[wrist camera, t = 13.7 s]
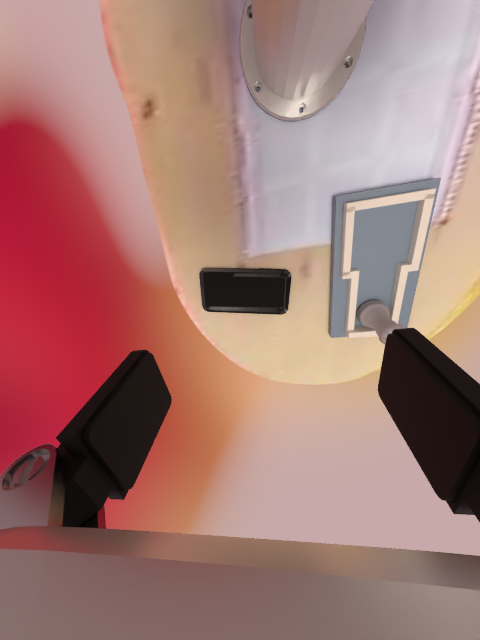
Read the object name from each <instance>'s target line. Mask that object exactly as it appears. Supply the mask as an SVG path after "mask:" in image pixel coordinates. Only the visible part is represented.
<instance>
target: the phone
mask: <svg viewBox="0 0 480 640" xmlns="http://www.w3.org/2000/svg"><path fill="white" fill-rule="evenodd" d="M290 285H291V274H290V272H289V271H288V270H285V269H263V268H259V269H241V268H204V269H203V270H202V271H201V272H200V286H201V296H202V306H203V308H204V310H206V311H208V312H230V313H256V314H285V313H286V312H287V310H288V304H289V294H290Z"/></svg>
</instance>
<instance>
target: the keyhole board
mask: <svg viewBox="0 0 480 640" xmlns="http://www.w3.org/2000/svg"><path fill="white" fill-rule="evenodd" d="M440 180H441V178H435V179H429V180H423V181H417V182H412V183H406V184H400V185H395V186H389V187H383V188H378V189H372V190H366V191H361V192H355V193H349V194H344V195H338V196H333V218H332V248H331V279H330V310H329V335H330V337H331V338H334V337H347V336H348V338H359V337H372V336H378V335H377V333H376V330H374V329H373V328H369V327H366V326H364V325H362V324H361V323H360V322H359V320H358V319H357V312H358V309H359V308H360V307H361V306H362V305H363V304H364V303H366V302H368V301H372V300H378V301H381V302H383V303H384V304H385V305H386V306H387V308H388V309H389V318H390V319H391V320H392V321H394V322H396V323H397V325H401V326H403V327H404V328H407V326H408V322H409V317H410V313H411V309H412V304H413V300H414V295H415V291H416V286H417V282H418V277H419V273H420V268H421V264H422V260H423V255H424V251H425V246H426V242H427V237H428V233H429V228H430V224H431V220H432V215H433V211H434V206H435V202H436V197H437V193H438V188H439V184H440Z"/></svg>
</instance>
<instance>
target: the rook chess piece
mask: <svg viewBox="0 0 480 640" xmlns="http://www.w3.org/2000/svg"><path fill="white" fill-rule="evenodd" d="M357 319H358V320H359V322H360V323H361V324H362V325H364V326H366V327H369V328H373V329H374V330H376V333H377V335H378V336H379V340H380V341H381V342H382V343H383V344H386V338H387V335H388V334H391V333H392V331H393V330H395V329H404V327H403V326H401V325H397V323H396V322H394V321H392V320H391V319H390V318H389V309H388V308H387V306H386V305H385V304H384V303H383V302H381V301H378V300H372V301H368V302H366V303H364V304H363V305H362V306H361V307H360V308H359V309H358V312H357Z"/></svg>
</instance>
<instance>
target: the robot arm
mask: <svg viewBox="0 0 480 640" xmlns="http://www.w3.org/2000/svg"><path fill="white" fill-rule="evenodd" d="M374 1H375V0H246V2H245V6H244V11H243V16H242V20H241V30H240V56H241V63H242V68H243V72H244V76H245V80H246V83H247V85H248V88H249V90H250V92H251V94H252V96H253V97H254V99H255V100H256V102H257V104H258V105H259V106H260V107H261V108H262V109H263V110H264V111H265V112H267V113H268V114H270V115H272V116H273V117H275V118H278V119H281V120H287V121H296V120H302V119H306V118H308V117H310V116H313V115H315V114H316V113H318V112H319V111H321V110H322V109H324V108H325V107H326V106H327V105H328V104H329V103H330V102H331V101H332V100H333V99H334V98H335V97H336V96H337V94H338V93H339V92H340V90H341V89H342V88H343V86H344V85H345V83H346V81H347V80H348V78H349V77H350V75H351V73H352V71H353V69H354V67H355V64H356V62H357V59H358V56H359V53H360V50H361V47H362V43H363V38H364V33H365V28H366V15H367V14H368V12H369V10H370V8H371V6H372V5H373V3H374ZM250 15H252V18H249V17H250ZM344 64H347V65H348V68H345V67H344ZM257 87H259V88H260V91H259V92H257V91H256V88H257ZM301 108H302V109H303V113H300V112H299V109H301ZM378 392H379V396H380V398H381V400H382V401H383V403H384V405H385V407H386V408H387V410H388V412H389V414H390V415H391V417H392V419H393V421H394V422H395V424H396V426H397V427H398V429H399V431H400V432H401V434H402V436H403V438H404V439H405V441H406V443H407V445H408V446H409V448H410V450H411V451H412V453H413V455H414V457H415V458H416V460H417V462H418V463H419V465H420V467H421V469H422V470H423V472H424V474H425V476H426V477H427V479H428V481H429V482H430V484H431V486H432V488H433V489H434V491H435V493H436V494H437V496H438V497H439V498H440V499H442V500H445V501H446V502H447V503H448V505H449V507H450V508H451V510H452V512H453V513H454V514H467V515H475V516H476V517H477V519H478V520H479V522H480V384H479V383H478V382H476V381H475V380H474V379H473V378H472V377H471V376H469V375H468V374H467V373H466V372H465V371H464V370H462V369H461V368H460V367H459V366H458V365H457V364H455V363H454V362H453V361H452V360H451V359H450V358H449V357H447V356H446V355H445V354H444V353H443V352H442V351H440V350H439V349H438V348H437V347H435V345H434V344H432V343H431V342H430V341H429V340H428V339H427V338H425V337H424V336H423V335H422V334H421V333H420V332H418V331H417V330H416V329H414V328H404V329H395V330H393V331H392V333H391V334H388V335H387V338H386V344H385V350H384V355H383V361H382V367H381V373H380V379H379V384H378ZM170 405H171V395H170V393H169V391H168V388H167V386H166V384H165V381H164V379H163V377H162V375H161V373H160V370H159V368H158V365H157V363H156V361H155V359H154V356H153V355H152V354H151V353H149V352H148V351H147V350H138V351H132V352H131V353H130V354H129V355H128V356H127V358H126V359H125V360H124V361H123V362H122V363H121V364H120V365H119V367H118V368H117V369H116V370H115V371H114V372H113V373H112V375H111V376H110V377H109V378H108V379H107V381H105V383H104V384H103V385H102V386H101V387H100V388H99V389H98V391H97V392H96V393H95V394H94V395H93V396H92V397H91V399H90V400H89V401H88V402H87V403H86V404H85V405H84V407H83V408H82V409H81V410H80V411H79V412H78V413H77V414H76V416H75V417H74V418H73V419H72V420H71V421H70V423H69V424H68V425H67V426H66V427H65V428H64V430H62V432H61V433H60V434H59V435H58V436H57V437H56V439H57V440H58V441H59V442H60V443H61V444H60V445H59V447H58V448H56V447H55V446H54V445H51V444H45V445H40V446H38V447H36V448H33V449H31V450H29V451H28V452H26V453H25V454H23V455H22V456H21V457H19V458H18V459H16V460H15V461H14V462H13V463H12V464H11V465H10V466H9V467H8V468H7V469H6V470H5V471H4V472H3V474H2V475H1V476H0V640H480V556H473V555H463V554H453V553H441V552H431V551H419V550H406V549H392V548H379V547H365V546H352V545H338V544H325V543H324V544H323V543H311V542H297V541H283V540H269V539H268V540H267V539H254V538H240V537H239V538H238V537H225V536H211V535H196V534H181V533H165V532H164V533H163V532H150V531H133V530H118V529H106V519H105V507H104V503H105V501H106V499H107V498H108V497H109V498H110V499H121V500H124V499H125V496H126V494H127V492H128V490H129V489H131V488H132V487H133V485H134V483H135V481H136V479H137V477H138V475H139V473H140V471H141V469H142V466H143V464H144V462H145V460H146V457H147V455H148V453H149V451H150V449H151V447H152V445H153V442H154V440H155V438H156V436H157V434H158V431H159V429H160V427H161V425H162V423H163V421H164V418H165V416H166V414H167V412H168V410H169V408H170Z"/></svg>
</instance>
